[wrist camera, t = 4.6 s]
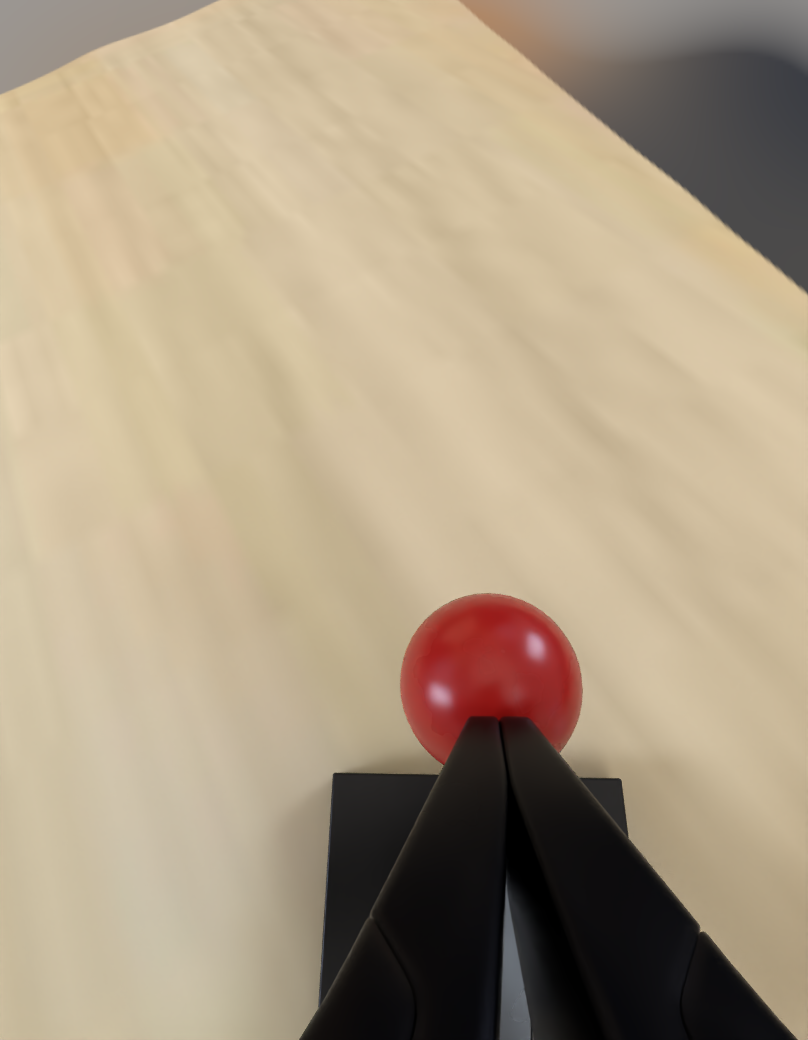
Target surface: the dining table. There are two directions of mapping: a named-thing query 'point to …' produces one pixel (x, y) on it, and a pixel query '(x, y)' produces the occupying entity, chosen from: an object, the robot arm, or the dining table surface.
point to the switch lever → (491, 705)
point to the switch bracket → (385, 848)
